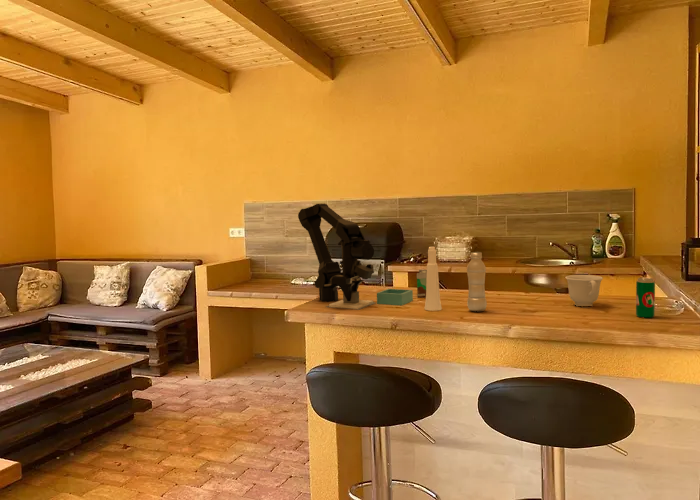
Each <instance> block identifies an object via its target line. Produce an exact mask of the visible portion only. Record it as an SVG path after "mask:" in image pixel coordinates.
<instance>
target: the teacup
mask: <svg viewBox="0 0 700 500" xmlns="http://www.w3.org/2000/svg"><path fill="white" fill-rule="evenodd" d="M564 278H565V279H566V282H567V287H568V295H569V298H570V300H572V302H574V306H575V305H576V306H575V307H578V306H592V307H594V306H593V304H594V303H595V302H596V301H597V300H598V298H599V294H600V288H601V282H602V281H603V279H604V277H602V276H600V275H593V274H571V275H566V276H565V277H564Z"/></svg>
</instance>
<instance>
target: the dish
mask: <svg viewBox="0 0 700 500" xmlns="http://www.w3.org/2000/svg"><path fill="white" fill-rule="evenodd" d="M413 291H414V290H413V289H404V288H403V289H401V288H400V289H399V288H386V289H384V290H381V291H378V292H376V304H377V305H389V306H390V305H391V306H404V305H407V304H409V303H411V302H413V301H414V298H413V297H414V296H413V295H414V292H413Z"/></svg>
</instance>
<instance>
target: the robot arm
mask: <svg viewBox="0 0 700 500" xmlns="http://www.w3.org/2000/svg"><path fill="white" fill-rule="evenodd" d="M297 215H298V216H297V217H298V220H299V222H300V225H301V226H302V227H303V228H304V230H306V231H307V232H308V235H309V237H310V240H311V243H312V244H311V245H312V247H313V249H314V252H315V256H316V258H317V260H318V264H319V265H318V270H317V273H318V274H317V275H318V276H317V278H316V279H315V281H314V286H315V288H316V289H319V290H318V294H319V295H318V296H319V298H318V299H319V302H324V303H326V302H327V303H329V302H331V303H335V302H338V301H339V291H338V287H339V288H340V289H341V291H342V294H343V293H344V295H345V297H346V299H347V301H351V291H359V289H358V288H359V286H360V285H361V284H362V283H363V282H364V280H368V279H371V278H372V275H373V274H375V269H374V265H373V264H371V263H369V264H367V265H362V263H361V261H362V260H368V261H369V260H370V259H372V258H373V257H374V254H375V249H374V246H373V245H372V244H371V243H370V240H369V239H366V238H365V236H364V235H363V233H362V230H361V228H360V226H359V224H357V223H356V222H353V220H349V219H345V218H344V217H342V215H341V216H340V215H339V214H338V213H337V212H336V211H335V210H333V209H332V208H331V207H330V206H329V205H328V204H327V203H316V204H313V205H311V206H308V207H305V208H301V209H300V210H299V212H298V214H297ZM322 219H323V220H324V221H325V222H326V223H327V224H328V225H330V226H331V227H333V228H334V230H335V234H336V235H337V236H338V238H339V239H340V241H338V243H337V245H338V246H341V260H340V261H339V262H338V261H334V260H333V259H332V257H331V254H330V251H329V248H328V246H327V242H326V241H325V237H324V235H323V231H322V230H321V223H322ZM340 265H341V266H342V268H341V267H340ZM361 278H362V279H361Z"/></svg>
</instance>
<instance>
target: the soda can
mask: <svg viewBox="0 0 700 500" xmlns="http://www.w3.org/2000/svg"><path fill="white" fill-rule="evenodd" d="M655 303H656V282H655V280H654V278H653V277H637V280H636V286H635V315H636V316H637V318H640V317H644V318H643V319H653V318H654V317H655V315H656V314H655V312H656V310H655V309H656V306H655V305H656V304H655Z"/></svg>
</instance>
